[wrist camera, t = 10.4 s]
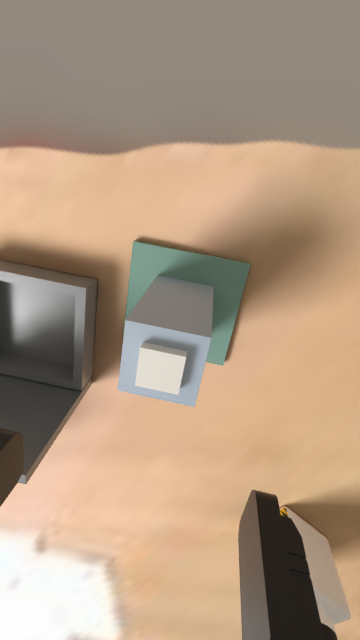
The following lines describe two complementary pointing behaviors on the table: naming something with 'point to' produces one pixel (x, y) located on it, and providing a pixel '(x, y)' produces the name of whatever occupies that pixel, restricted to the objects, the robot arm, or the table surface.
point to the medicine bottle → (322, 576)
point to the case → (43, 352)
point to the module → (167, 341)
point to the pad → (195, 269)
